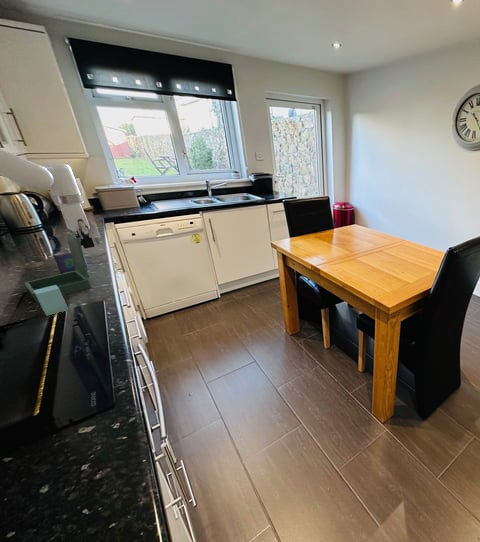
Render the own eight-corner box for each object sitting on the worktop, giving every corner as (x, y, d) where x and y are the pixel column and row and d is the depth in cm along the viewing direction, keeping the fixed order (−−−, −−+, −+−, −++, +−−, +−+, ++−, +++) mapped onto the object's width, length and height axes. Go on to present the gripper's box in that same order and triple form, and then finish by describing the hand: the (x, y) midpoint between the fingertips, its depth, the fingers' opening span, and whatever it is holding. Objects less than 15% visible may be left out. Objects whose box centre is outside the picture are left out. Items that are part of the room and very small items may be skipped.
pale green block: (47, 317, 92) (36, 294, 89) (44, 312, 94) (33, 290, 91) (69, 310, 96) (59, 288, 93) (65, 306, 98) (55, 284, 95)
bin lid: (76, 239, 103) (95, 237, 107) (65, 232, 110) (83, 230, 114) (86, 278, 108) (103, 275, 112) (75, 269, 115) (92, 266, 119)
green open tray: (37, 304, 99) (32, 293, 97) (29, 292, 106) (23, 282, 105) (92, 289, 110) (88, 279, 108) (80, 279, 118) (76, 270, 116)
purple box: (87, 267, 129) (79, 245, 125) (90, 268, 128) (81, 246, 124) (60, 273, 122) (50, 250, 118) (62, 275, 121) (52, 252, 117)
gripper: (48, 198, 105) (68, 244, 113) (60, 203, 96) (81, 253, 104) (75, 195, 111) (92, 239, 118) (89, 201, 102) (106, 248, 109)
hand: (87, 245), depth 111 cm, fingers closed on bin lid, 5 cm apart
